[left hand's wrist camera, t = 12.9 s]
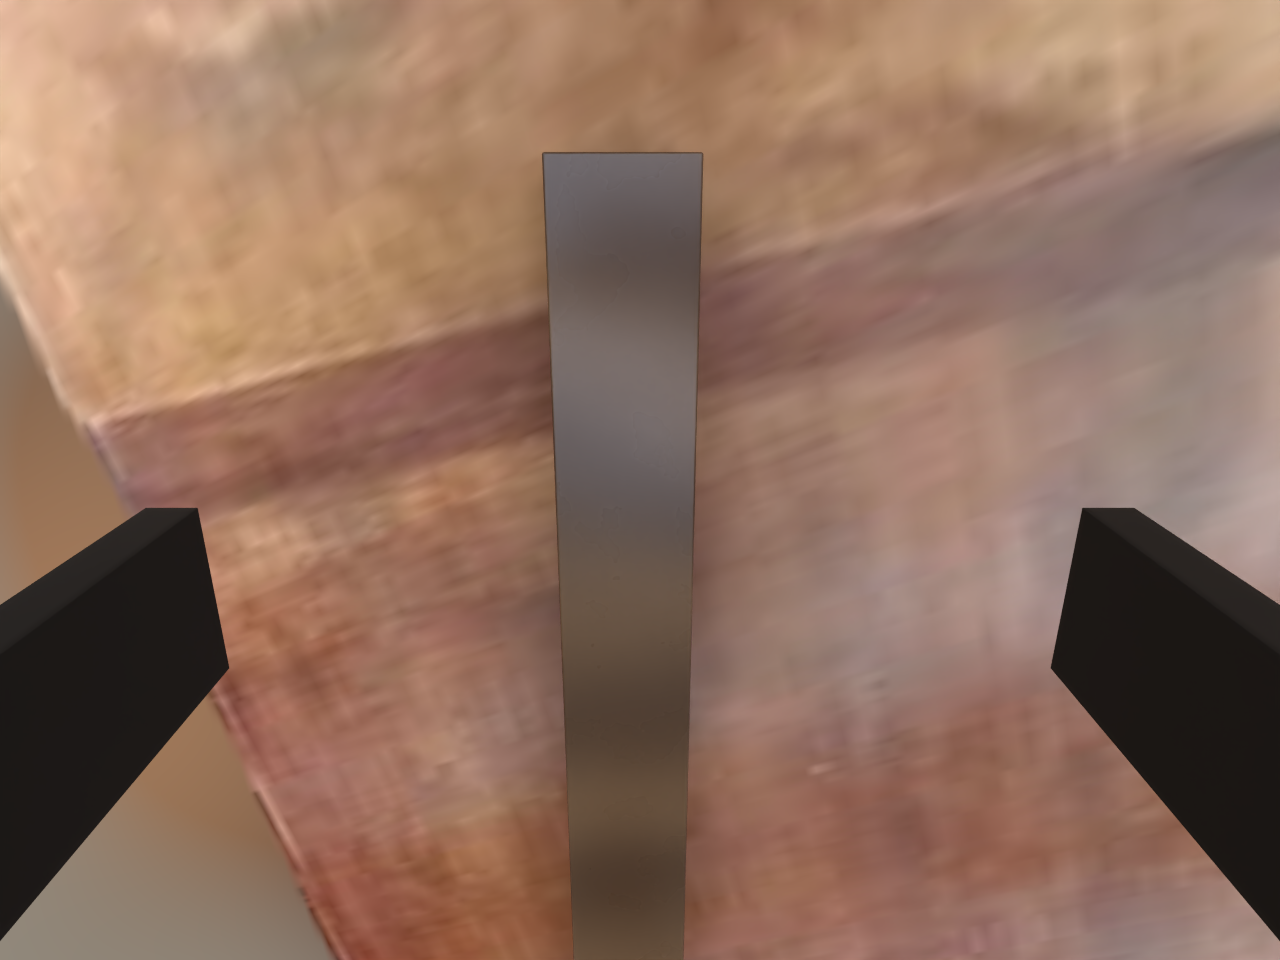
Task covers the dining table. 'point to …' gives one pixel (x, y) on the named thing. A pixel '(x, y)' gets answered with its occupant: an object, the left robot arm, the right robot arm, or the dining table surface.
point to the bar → (625, 530)
